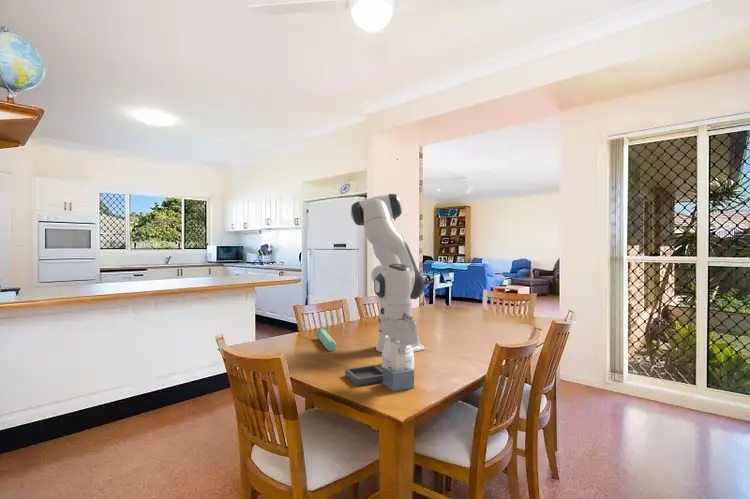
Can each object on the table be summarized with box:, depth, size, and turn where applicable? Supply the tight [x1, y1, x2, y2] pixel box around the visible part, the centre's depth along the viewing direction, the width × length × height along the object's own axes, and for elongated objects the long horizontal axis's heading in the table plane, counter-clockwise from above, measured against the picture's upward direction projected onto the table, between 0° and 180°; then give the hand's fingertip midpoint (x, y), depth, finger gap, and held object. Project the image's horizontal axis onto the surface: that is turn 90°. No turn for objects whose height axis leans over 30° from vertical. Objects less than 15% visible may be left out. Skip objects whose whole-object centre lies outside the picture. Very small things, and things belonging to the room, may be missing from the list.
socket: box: [382, 365, 415, 392], centre depth 135 cm, size 8×8×6 cm
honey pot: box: [381, 335, 415, 370], centre depth 157 cm, size 13×13×18 cm
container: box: [316, 327, 337, 352], centre depth 190 cm, size 6×6×25 cm
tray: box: [344, 364, 383, 388], centre depth 143 cm, size 12×12×2 cm
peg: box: [391, 341, 405, 372], centre depth 135 cm, size 4×4×15 cm
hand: (398, 352), depth 135 cm, fingers closed on peg, 3 cm apart
